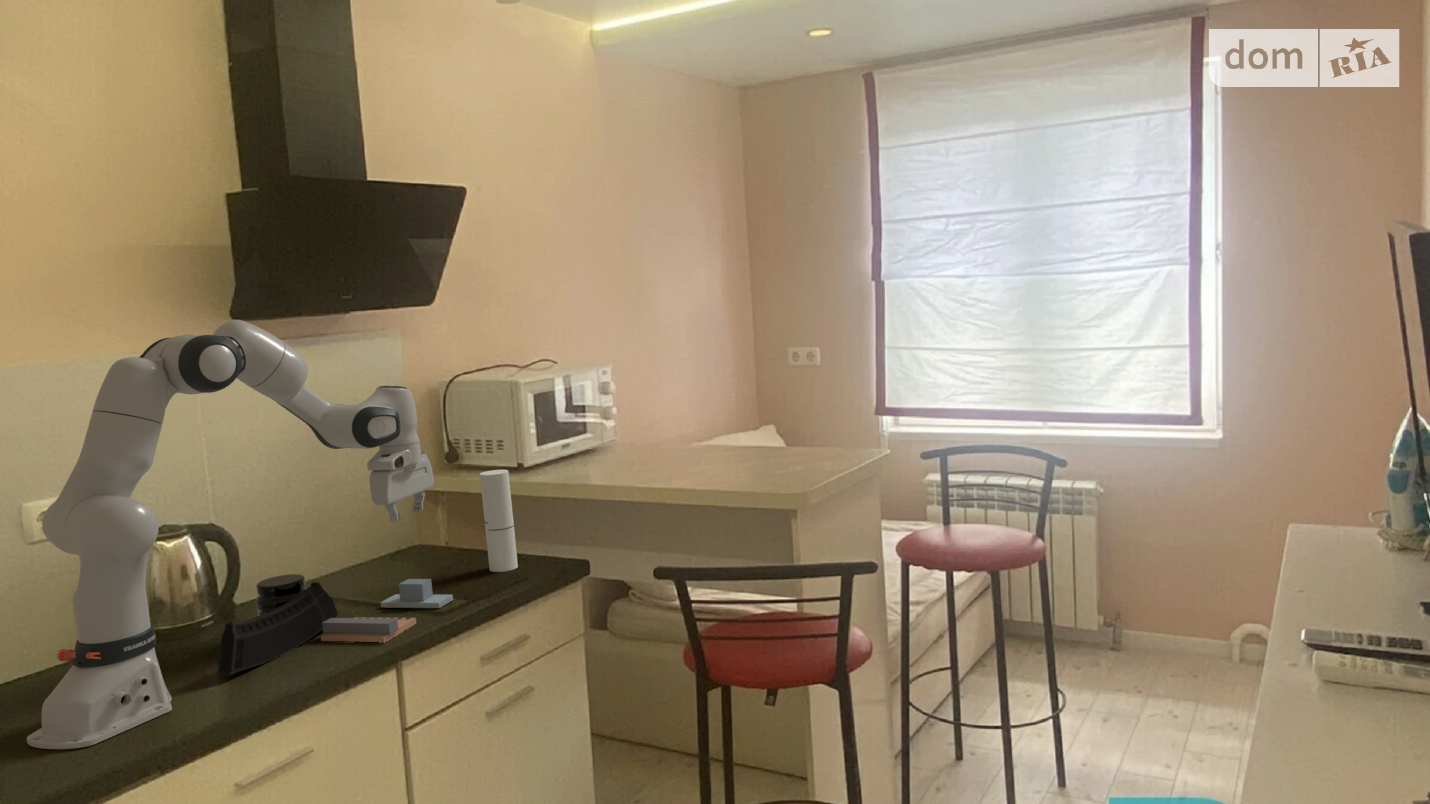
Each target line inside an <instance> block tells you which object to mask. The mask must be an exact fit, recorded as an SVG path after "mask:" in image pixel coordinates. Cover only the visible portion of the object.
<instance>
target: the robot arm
mask: <svg viewBox="0 0 1430 804" xmlns="http://www.w3.org/2000/svg"><path fill="white" fill-rule="evenodd" d="M307 377H308V364H307V362H306V360H305V358H304V357H303V356H302V355H301V354H300V353H299V352H298V351H297V350H296V349H294V348H293V347H291V346H290V345H289V344H287V343H286V342H285V341H283V340H282V339H280V338H278V337H277V336H275V335H274V334H272V333H270V332H268V331H267V330H264V329H262V328H261V327H260V326H257V325H254V324H252V323H250V322H247V321H245V320H242V319H233V320H229V321H226V322H224V323H223V324H221V325H220V326H218V328H217V329H216V330H215V331H214V333H213V334H201V335H193V334H182V335H176V336H173V337H165V338H161V339H159V340H156V341H155V342H153V343H151V344H150V345H149V346H148V347H147V348H146V349H145V350H144V351H143V353H142V354H141V355H140V356H128V357H123V358H120V359H118V360H116V361H115V362H114V363H113V364H111V366H110V368H109V369H108V371H107V373H106V375H105V377H104V379H103V381H102V383H101V386H100V388H99V391H98V393H97V396H96V399H95V401H94V404H93V408H92V413H91V415H90V419H89V422H88V426H87V430H86V433H85V437H84V441H83V444H82V448H81V450H80V454H79V455H78V459H77V461H76V463H75V464H74V467H73V469H72V471H71V473H70V475H69V477H68V479H67V481H66V482H65V484H64V486H63V488H62V490H61V491H60V494H59V495H58V497H57V499H55V501H54V502H52V504H50V506H49V507H48V508H47V509H46V511H45V513H44V515H43V518H42V521H41V526H42V527H41V528H42V532H43V534H44V536H45V537H46V539H47V540H48V541H49V542H50V544H52V545H53V546H55V547H56V548H58V550H60V551H62V552H64V553H67V554H70V555H76V556H78V558H79V563H80V567H79V577H78V583H77V587H76V589H75V591H74V593H73V595H72V598H71V599H72V607H73V615H74V620H75V627H76V628H75V629H76V633H77V640H76V642H75V645H74V649H65V648H62V649H60V650H58V651H57V654H56V658H57V660H58V661H59V662H71V665H72V666H71V667H70V668H69V670H68V671H67V673H65V675H64V676H63V678H62V679H61V680H60V682H59V683H58V684H57V685H56V686H55V688H53V690H52V692H51V693H50V694H49V695H48V696H47V697H46V698H45V700H44V702H43V703H42V707H41V716H40V717H41V721H40V722H41V728H39V729H37V730H36V731H33V732H32V733H31V734H29V735H28V736H27V737H26V744H27V745H28V746H30V747H33V748H37V749H45V750H46V749H47V750H71V749H79V748H86V747H91V746H93V745H96V744H98V743H101V742H102V741H105V740H108V739H109V738H112V737H114V736H116V735H119V734H121V733H123V732H126V731H128V730H130V729H133V728H135V727H137V726H139V725H142V724H143V723H144V724H145V723H146V722H148V721H151V720H152V719H153V720H154V719H155V718H157V717H160V716H163V715H165V714H166V713H170V711H171V712H172V710H173V706H172V703H171V702H172V699H173V698H172V695H171V694H170V691H169V690H168V687H167V685H166V683H165V680H164V677H163V674H162V670H161V668H160V663H159V660H158V658H157V654H156V649H155V648H156V647H155V646H156V645H157V640H156V639H157V638H156V633H155V627H154V625H153V624H152V623H151V617H150V610H149V603H148V596H147V588H146V587H147V584H146V583H147V582H146V581H147V569H148V562H149V561H148V560H149V554H150V549H151V548H152V547H153V545H154V544H155V542H156V540H157V538H158V535H159V526H160V525H159V521H158V518H157V515H156V514H155V513H154V512H153V510H152V509H151V508H149V507H148V506H146V505H145V504H143V503H142V502H140V501H138V500H136V499H134V498H131V496H132V494H133V493H134V491H135V489H136V486H137V485H138V484H139V482H140V480H141V479H142V478H143V476H145V474H147V472H148V471H149V470H150V469H151V468H152V465H153V462H154V458H155V455H156V451H157V448H158V447H157V446H158V442H159V439H160V436H161V432H162V426H163V423H164V419H165V414H166V409H167V407H168V404H169V402H170V401H171V399H172V398H173V396H175V395H176V394H185V395H198V394H199V395H201V394H205V393H206V394H209V393H211V394H212V393H217V392H219V391H221V390H223V389H226V388H228V387H229V386H230V385H231V384H233V383H234V382H235V381H236V379H237V380H238V381H240V382H242V383H243V384H245V385H246V386H248V387H249V388H251V389H252V390H254V391H256V392H258V393H259V394H261V395H263V396H265V397H266V398H269V399H271V400H272V401H274V402H275V403H277V404H278V405H279V406H281V407H283V408H284V409H285V410H287V411H288V412H289V413H291V414H292V415H294V416H295V417H296V418H298V419H299V420H301V422H303V423H305V425H307V426H308V427H309V428H310V429H311V431H312V432H313V433H314V435H315V436H316V439H317V440H318V441H319V442H320V443H321V444H322V445H324V446H325V447H327V448H330V449H333V450H339V449H362V450H363V449H365V450H368V449H370V450H371V449H374V448H376V447H378V448H379V449H378V451H377V452H376V453H375V454H374V455H373V457H371V458H370V459H368V461H367V463H366V466H367V471H370V474H369V487H370V488H369V489H370V496H371V500H372V502H373V504H374V505H375V506H384V507H385V510H386V511H387V513H388V514H389V520H390V522H393V523H394V522H399V521H400V520H401V519H402V518H401V512H400V511H399V512H398V509H397V506H398V504H397V503H398V501H401V500H404V499H406V498H409V497H412V496H414V503H413V504H412V508H413V509H412V510H413V511H412V512H415V513H419V512H422V511H423V510H424V500H425V497H426V492H425V491H427V490H430V489H432V488H433V487H434V485H435V484H434V483H435V479H434V472H433V467H432V463H431V461H430V459H429V458H428V454H427V453H426V452H425V451H424V450H423V449H421V441H420V437H419V436H418V432H417V431H418V415H417V407H416V403H415V399H414V395H413V393H412V391H411V390H410V389H409V388H407V387H406V386H401V385H400V386H399V385H380V386H378V387H376V388H375V391H374V392H373V393H372V394H371V395H370V396H368V398H367V399H365V400H363V401H361V402H360V403H358V404H342V403H332V402H329V401H326V400H325V399H324V398H322V397H321V396H319V395H318V394H316V393H315V392H314V391H313V390H312V389H311V388H309V387H308V386H306V385H305V383H306V380H307Z"/></svg>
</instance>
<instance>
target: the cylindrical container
mask: <svg viewBox="0 0 1430 804" xmlns="http://www.w3.org/2000/svg"><path fill="white" fill-rule="evenodd" d="M479 480H480V491H481V497H482V499H481V500H482V509H483V518H484V519H483V520H484V526H485V527H484V528H485V529H484V530H485V539H486V547H487V558H488V566H489V571H490V572H493V573H505V572H509V571H513V570H516V569H517V568H518V567H519V565H518V553H517V545H516V534H515V523H514V515H513V514H514V513H513V503H512V494H511V485H510V474H509V470H508V469H494V470H486V471H482V472H480V473H479Z"/></svg>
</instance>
